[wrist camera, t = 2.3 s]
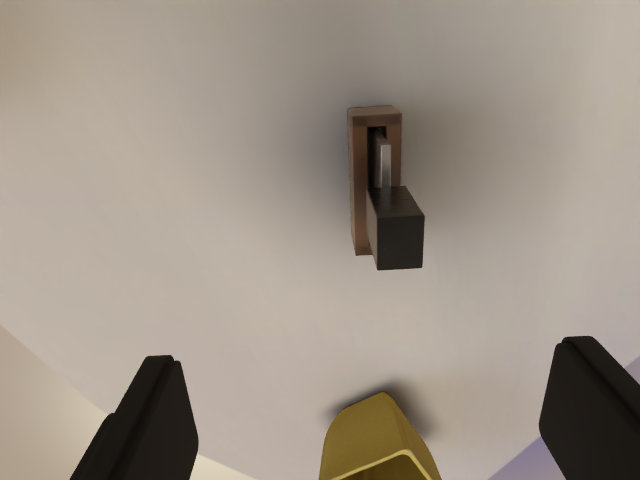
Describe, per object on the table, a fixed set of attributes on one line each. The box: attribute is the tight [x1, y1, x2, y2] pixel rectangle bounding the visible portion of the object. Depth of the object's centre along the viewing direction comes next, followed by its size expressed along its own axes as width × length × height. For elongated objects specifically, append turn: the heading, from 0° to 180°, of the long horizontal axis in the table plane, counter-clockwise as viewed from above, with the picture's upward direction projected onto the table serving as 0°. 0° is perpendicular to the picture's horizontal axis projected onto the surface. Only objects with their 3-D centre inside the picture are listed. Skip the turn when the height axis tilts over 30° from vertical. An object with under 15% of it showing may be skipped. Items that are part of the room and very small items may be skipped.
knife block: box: [348, 105, 402, 256], centre depth 32 cm, size 10×3×4 cm, turn 4°
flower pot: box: [319, 392, 442, 480], centre depth 40 cm, size 9×9×9 cm
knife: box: [366, 127, 425, 270], centre depth 28 cm, size 8×2×13 cm, turn 3°
